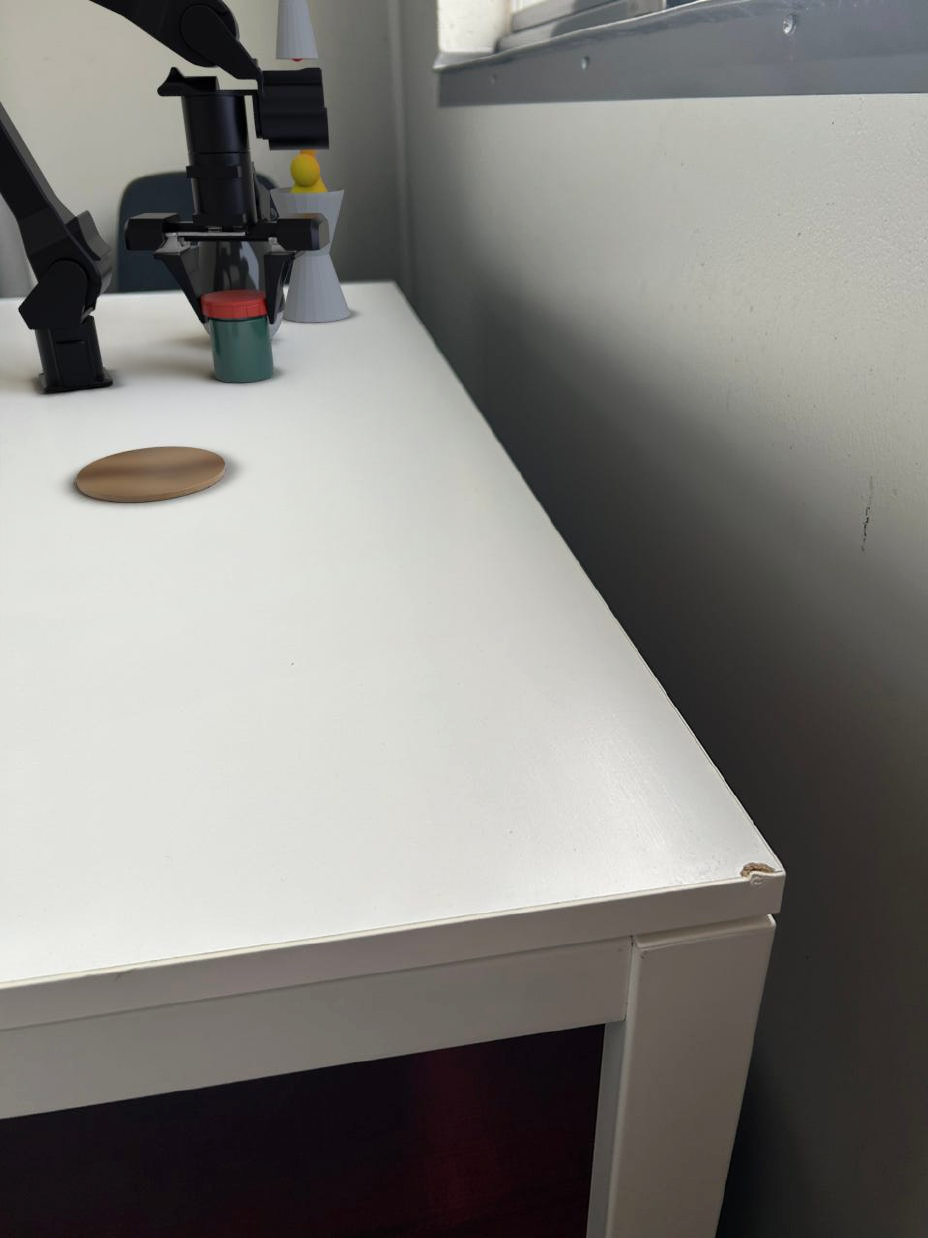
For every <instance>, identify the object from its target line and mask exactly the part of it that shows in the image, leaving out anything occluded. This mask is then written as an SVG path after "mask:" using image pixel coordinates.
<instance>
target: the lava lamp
mask: <svg viewBox="0 0 928 1238" xmlns="http://www.w3.org/2000/svg"><path fill="white" fill-rule="evenodd" d="M276 23H277V24H276V41H275V44H276V45H275V60H292V61H293V62H297V63H299V62H301V61H302V60H319V53H318V49H317V45H316V44H317V43H316V39H315V35H314V30H313V24H312V19H311V15H310V10H309V4H308V0H278V2H277V22H276ZM299 151H300V153H299V154H298V155H296V156H295V157H294V158H292V160H291V163H290V167H289V172H290V173H289V174H290V176H291V178H292V180H293V181H294V184H293V186H285V187H277V188H272V189H269V192H270V197H271V199H272V201H273V203H274V206H275V208H276V211H277V214H278V216H279V217H281V216H283V215H285V214H287V213H322V214H323V215H324V216H325V217H326V219H327V220H328V224H329V234H330V243H329V244H327V245H326V246H325V247H323V248H322V249H320V250H316V251H305V253H304V254H302V255H301V256H300V257H298V258H297V259H295V260H293V261H292V268H291V272H290V277H289V283H288V288H287V292H286V297H285V305H286V308H285V310H284V311H283V317H282V319H285V320H287V321H289V322H296V323H328V322H335V321H340V320H344V319H346V318H348V317H349V318H350V316H351V311H350V309H349V307H348V303H347V300H346V298H345V295H344V291H343V289H342V286H341V284H340V280H339V278H338V274H337V272H336V269H335V266H334V264H333V260H332V257H331V255H330V251H331V247H332V243H333V240H334V235H335V231H336V227H337V224H338V219H339V215H340V211H341V207H342V202H343V199H344V194H345V188H343V187H339V186H325V183H324V182H323V180H322V178H321V167H320V164H319V162H318V160H317V157H316V150H299Z"/></svg>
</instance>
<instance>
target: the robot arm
mask: <svg viewBox="0 0 928 1238" xmlns="http://www.w3.org/2000/svg"><path fill="white" fill-rule="evenodd" d="M88 1H89V2H92V3H93V4H95V5H98V6H100V7H102V8H104V9H106V10H108V11H110V12H112V13H115V14H117V15H119V16H120V17H123V18H124V19H126V20H127V21H129V22H130V23H132V24H133V25H135V26H136V27H138V28H140V30H142V31H143V32H144V33H146V34H147V35H149V36H150V37H151V38H153V39H155V40H156V41H157V42H159V43H160V44H162V45H163V46H165V47H166V48H167V49H168V50H170V51H172V52H173V53H175V54H176V55H178V56H179V57H181V58H182V59H184V60H185V61H186V62H188V63H189V64H191V65H193V66H197V67H201V68H204V69H217V68H219V69H221V70H223V71H224V72H225V73H227V74H229V75H230V76H231V77H233V78H234V79H236V80H239V81H240V80H241V81H256V85H257V88H246V89H245V88H244V89H243V88H241V89H240V88H238V89H236V88H235V89H234V88H233V89H232V88H231V89H229V88H228V89H223V88H222V89H221V87H220V81H219V78H218V76H217V75H185V74H183V72H182V71H181V70H180V69H179V67H177V66H171V67H170V69H169V73H168V75H167V77H166V79H165V80H164V81H163V82H162V83H161V84H160V85H159V86H158V87H157V90H156V93H157V95H158V96H159V97H164V98H166V97H170V98H171V97H173V98H175V97H180V104H181V111H182V119H183V127H184V132H185V143H186V150H187V158H188V165H186V166H185V172H186V173H185V174H186V178H187V179H190V181H191V189H192V198H193V205H194V206H193V207H194V213H192V214H191V217H192V221H183V219H182V217H181V216H180V213H179V212H145V213H142V214H138V215H135V216H132V217H129V218H128V219H127V220H126V222H125V224H124V228H123V235H124V242H125V249H126V250H127V251H135V252H136V251H139V252H140V251H141V252H142V251H144V252H145V251H146V252H147V251H150V252H151V251H152V252H153V251H154V253H152V254H151V258H152V260H154V261H161V262H162V263H163V265H164V266H165V268H166V269H167V270H168V272H169V273H170V275H171V276H172V277H173V279H174V280H175V281H176V283H177V284H178V286H179V287H180V289H181V291H182V292H183V294H184V296H185V297H186V299H187V301H188V303H189V305H190V307H191V308H192V310H193V312H194V313H195V315H196V317H197V319H198V320H199V323H200V324H206V323H207V322H208V316H206V315H204V314H203V311H202V305H201V297H202V296H203V295H205V294H204V289H203V284H202V279H201V274H200V269H199V246H198V245H191V244H192V243H193V242H197V243H198V242H269V246H271V251H269V252H268V253H266V254H264V255H263V259H264V275H265V290H266V306H267V314H268V319H269V324H274V323H275V322H276V319H277V314H278V310H279V305H280V301H281V296H282V292H283V291H284V288H285V287H284V286H285V282H286V279H287V276H288V273H289V271H290V268H291V265H292V264H293V262H294V260H295V259H297V258H298V257H300V256H301V255H302V254H304V253H305V251H316V250H320V249H322V248H323V247H325V246H326V245H327V244H329V243H330V234H329V224H328V220H327V219H326V217H325V216H324V215H323V214H322V213H287V214H285V215H283V216H281V217H280V216H279V217H276V221H270V209H271V194H270V190H269V189H268V188H267V187H265V185H263V183H261V182H260V181H259V180H258V178H257V177H258V176H257V171H256V167H255V162H254V161H252V153H251V144H250V133H249V124H248V116H247V105H246V96H247V97H251V101H252V102H251V103H252V113H253V123H254V131H255V138H256V140H258V139H259V140H263V141H268V148H269V151H300V150H315V151H323V150H325V151H326V150H330V136H329V133H330V132H329V117H328V107H327V106H325V94H324V93H325V91H324V84H323V83H324V82H323V70H322V68H321V67H317V66H316V67H314V66H313V67H312V66H311V67H310V66H309V67H304V68H301V69H271V70H269V69H268V70H263V69H261V67H260V66H259V59H258V58H256V57H254V58H253V57H252V55H251V54H250V53H249V52H248V50H247V49H246V48H245V46H244V45H243V44H242V42H241V41H240V38H241V36H240V35H241V34H240V28H239V23H238V21H237V19H236V16H235V14H234V12H233V11H232V9H231V8H230V7H229V6H228V5H227V4H226V3H225V2H224V1H223V0H88ZM0 195H1V197H2V199H3V200H4V202H5V203H6V205H7V207H8V208H9V211H10V212H11V213H12V215H13V216H14V219H15V221H16V223H17V228H18V230H19V234H20V238H21V242H22V245H23V250H24V253H25V256H26V258H27V260H28V263H29V265H30V267H31V270H32V272H33V275H34V276H35V279H36V282H37V283H36V285H35V286H34V287H33V288H32V290H31V291H30V292H29V293H28V294H27V296H26V297H25V298H24V300H23V301H22V302H21V303H20V304H19V306H18V307H17V311H18V313H19V315H20V317H21V318H22V320H23V321H24V324H25V325H26V326H27V328H28V330H30V331H34V336H35V341H36V346H37V349H38V350H37V351H38V355H39V360H40V364H41V368H42V372H40V373H38V374H37V376H38V380H39V382H40V385H41V387H42V390H43V393H56V392H64V391H73V390H81V389H88V388H89V389H90V388H98V387H105V386H112V385H114V380H113V377H112V376H111V374H110V373H109V371H108V370H107V368H106V367H105V366H104V363H103V358H102V353H101V348H100V342H99V335H98V331H97V325H96V320H95V316H94V315H91V314H92V312H94V311H95V310H96V309H97V302H98V299H99V298H100V297H101V296H102V295H103V293H104V292H105V291H106V290H107V289H108V287H109V286H110V284H111V282H112V277H113V263H112V261H111V257H110V255H109V253H110V252H111V251H112V250H113V247H112V246H111V245H110V244H108V243H107V242H106V241H105V240H104V239H103V237H102V236H101V235H100V233H99V230H98V228H97V226H96V223H95V221H94V217H93V216H92V214H91V212H90V211H89V210H88V209H85V210H84V211H82V212H81V213H79V214H77V215H75V214H74V213H73V212H72V211H71V210H70V209H69V208H68V207H67V206H66V205H65V203H63V202H62V201H61V200H60V199H59V197H58V196H57V194H56V192H55V191H54V189H53V188H52V186H51V185H50V183H49V181H48V180H47V177H46V176H45V174H44V173H43V171H42V169H41V167H40V166H39V164H38V163H37V161H36V158H35V157H34V155H33V154H32V153H31V151H30V149H29V148H28V146H27V144H26V142H25V141H24V139H23V137H22V135H21V134H20V132H19V130H18V129H17V126H16V125H15V123H14V121H13V120H12V118H11V117H10V115H9V114H8V112H7V109H6V108H5V107H4V105H3V103H2V102H1V101H0ZM208 226H221V228H210V229H208ZM234 226H242V227H243V228H234ZM209 230H210V231H209ZM247 232H248V233H247Z"/></svg>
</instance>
